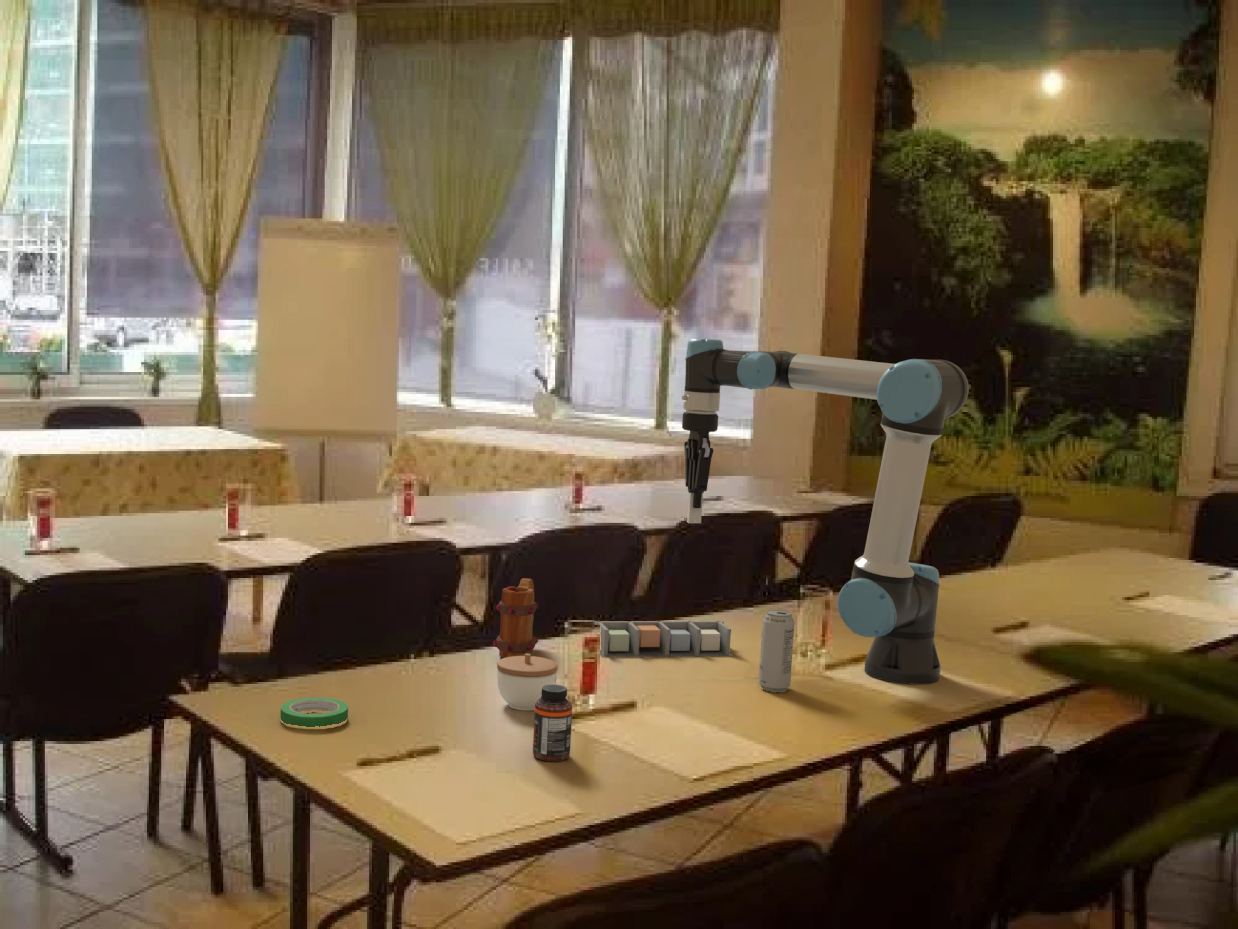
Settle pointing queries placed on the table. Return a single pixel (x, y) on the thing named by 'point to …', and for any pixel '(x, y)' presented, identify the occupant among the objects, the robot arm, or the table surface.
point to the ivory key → (709, 640)
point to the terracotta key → (649, 636)
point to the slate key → (679, 640)
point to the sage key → (618, 640)
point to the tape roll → (314, 703)
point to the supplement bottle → (552, 724)
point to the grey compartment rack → (665, 638)
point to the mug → (516, 620)
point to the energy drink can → (776, 650)
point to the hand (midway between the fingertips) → (693, 522)
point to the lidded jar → (524, 679)
